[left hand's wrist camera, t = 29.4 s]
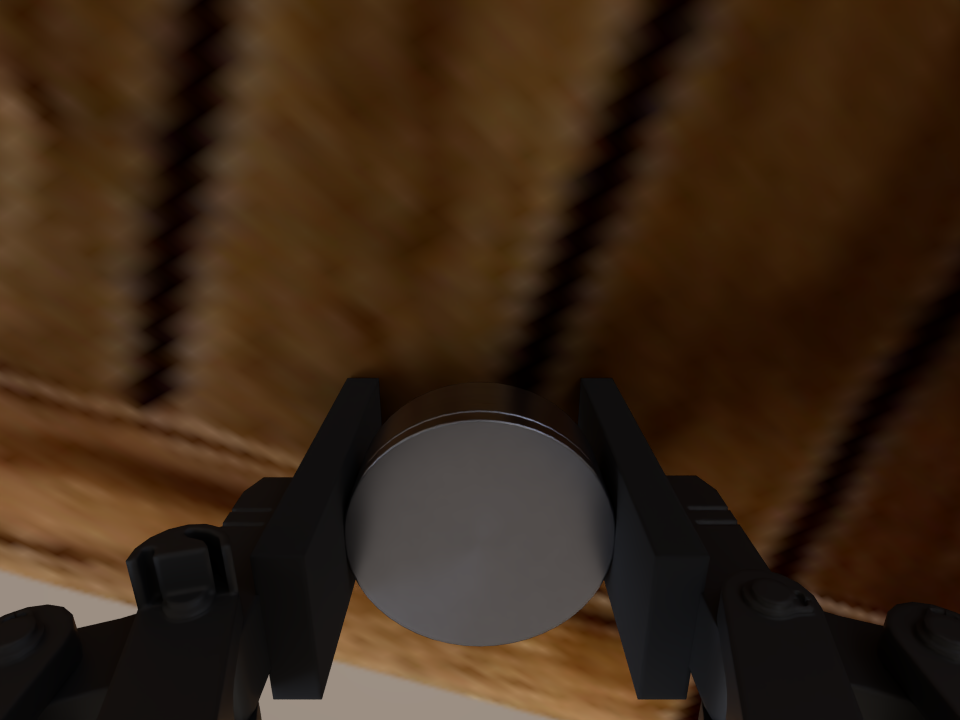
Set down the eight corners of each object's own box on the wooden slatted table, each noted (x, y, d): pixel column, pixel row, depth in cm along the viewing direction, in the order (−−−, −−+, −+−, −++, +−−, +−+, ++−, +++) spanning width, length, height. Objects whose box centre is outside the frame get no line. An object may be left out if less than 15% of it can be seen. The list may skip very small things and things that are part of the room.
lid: (317, 433, 12) (293, 479, 10) (550, 343, 11) (562, 377, 10) (421, 612, 14) (413, 676, 12) (629, 543, 13) (650, 600, 11)
